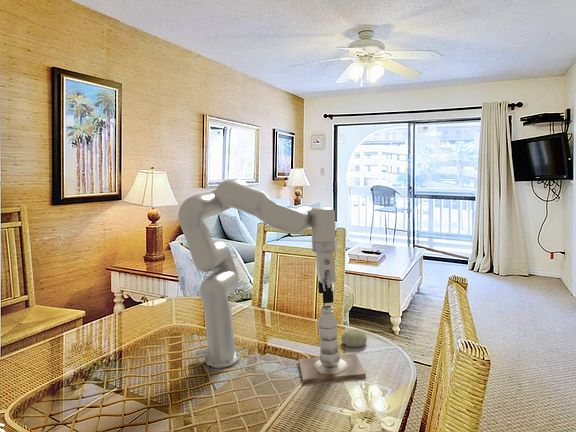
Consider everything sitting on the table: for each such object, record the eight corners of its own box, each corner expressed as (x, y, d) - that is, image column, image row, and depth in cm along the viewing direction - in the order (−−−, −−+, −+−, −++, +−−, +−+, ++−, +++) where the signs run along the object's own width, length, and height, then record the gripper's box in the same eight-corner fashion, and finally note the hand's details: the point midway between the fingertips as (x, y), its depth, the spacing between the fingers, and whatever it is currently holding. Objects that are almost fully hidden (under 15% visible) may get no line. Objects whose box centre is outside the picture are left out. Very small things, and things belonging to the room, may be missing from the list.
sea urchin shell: (369, 344, 151) (352, 329, 152) (354, 358, 153) (338, 343, 154) (369, 333, 160) (353, 319, 161) (355, 347, 162) (339, 333, 162)
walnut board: (303, 383, 131) (302, 379, 131) (298, 362, 145) (298, 358, 145) (365, 377, 132) (365, 373, 132) (355, 356, 146) (355, 353, 146)
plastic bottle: (341, 369, 136) (338, 310, 133) (320, 370, 136) (316, 311, 133) (339, 359, 142) (336, 303, 139) (319, 360, 142) (316, 304, 140)
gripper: (340, 251, 125) (342, 306, 127) (331, 240, 142) (332, 288, 144) (315, 252, 125) (317, 307, 127) (309, 241, 142) (311, 290, 144)
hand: (325, 297), depth 136 cm, fingers open, 9 cm apart
